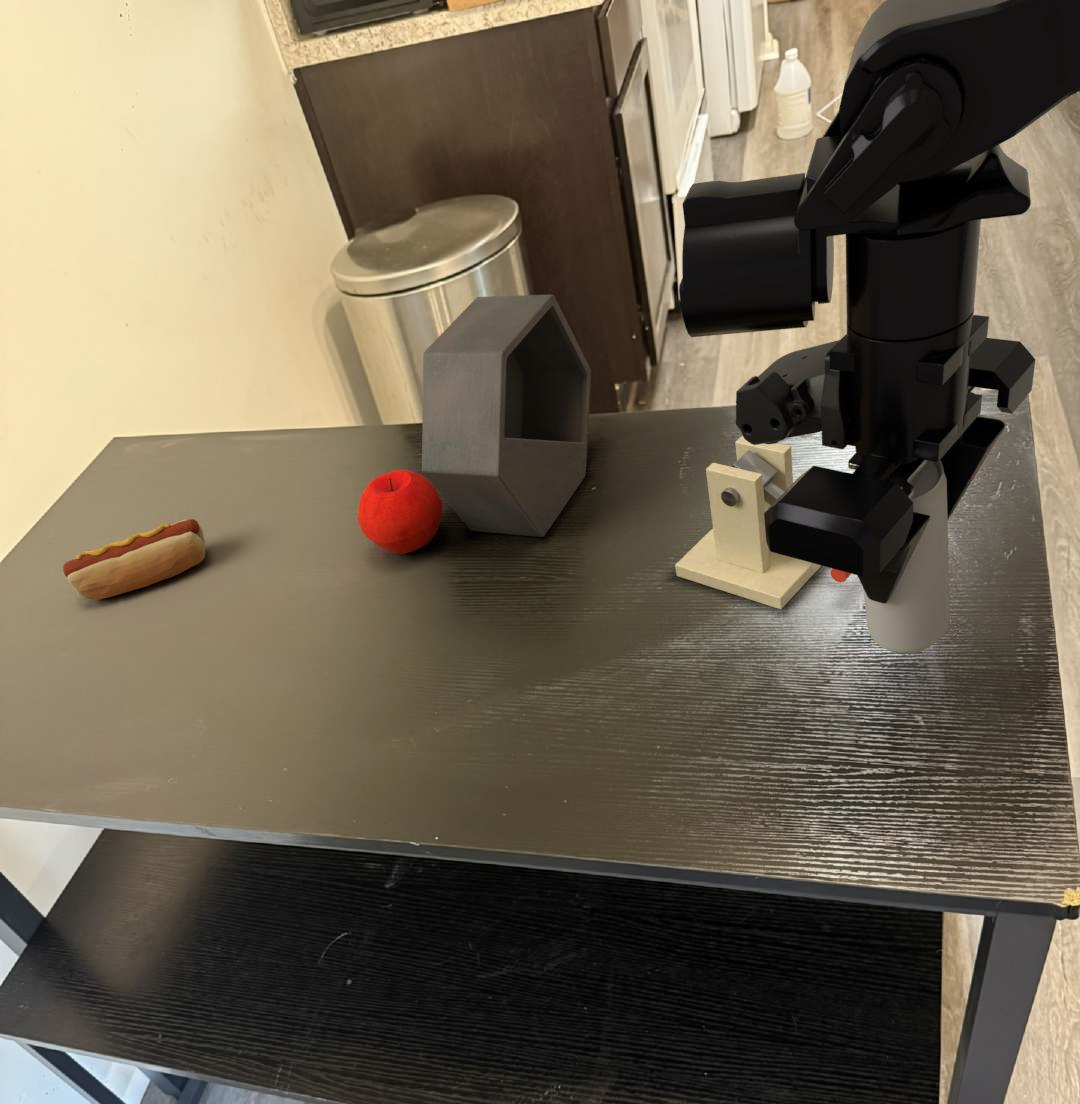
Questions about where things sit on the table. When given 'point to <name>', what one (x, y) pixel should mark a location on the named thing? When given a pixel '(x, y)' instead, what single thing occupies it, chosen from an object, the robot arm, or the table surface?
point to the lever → (773, 490)
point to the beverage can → (919, 577)
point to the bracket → (745, 534)
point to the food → (137, 560)
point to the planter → (506, 414)
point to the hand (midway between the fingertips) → (900, 573)
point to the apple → (400, 511)
